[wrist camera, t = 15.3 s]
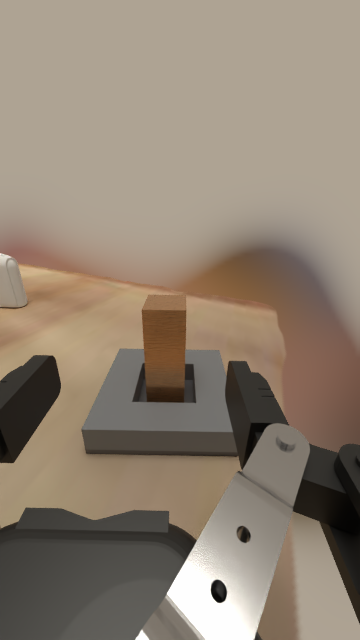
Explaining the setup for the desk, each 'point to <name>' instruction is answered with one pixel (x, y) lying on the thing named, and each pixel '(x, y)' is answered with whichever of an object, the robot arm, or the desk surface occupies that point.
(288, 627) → the desk surface
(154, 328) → the bracket post
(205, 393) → the well stand
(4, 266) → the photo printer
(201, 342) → the desk surface
